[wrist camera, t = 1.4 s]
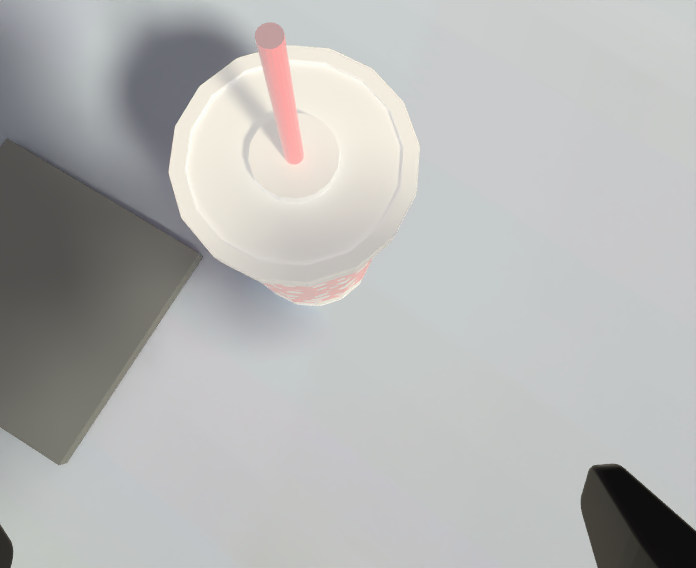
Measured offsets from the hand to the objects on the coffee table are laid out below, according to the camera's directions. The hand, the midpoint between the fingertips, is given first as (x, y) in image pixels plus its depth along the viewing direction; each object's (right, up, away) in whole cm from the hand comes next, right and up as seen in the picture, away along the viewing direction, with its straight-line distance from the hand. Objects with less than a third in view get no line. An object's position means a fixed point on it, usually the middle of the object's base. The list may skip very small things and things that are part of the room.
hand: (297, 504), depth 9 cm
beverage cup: (-1, +5, +14) cm, 15 cm away
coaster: (-11, +3, +14) cm, 18 cm away
